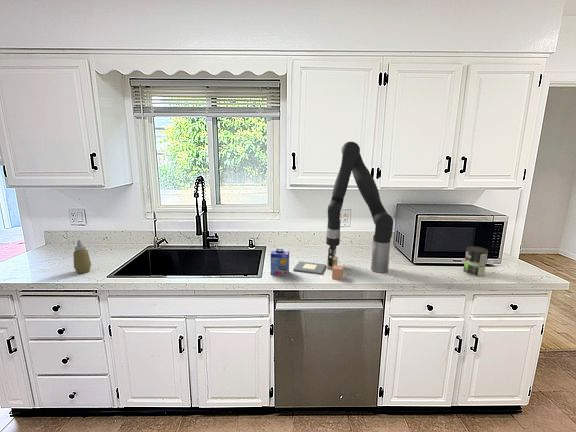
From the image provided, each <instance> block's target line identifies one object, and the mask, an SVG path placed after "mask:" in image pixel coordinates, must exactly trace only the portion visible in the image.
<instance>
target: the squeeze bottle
mask: <svg viewBox="0 0 576 432" xmlns="http://www.w3.org/2000/svg"><path fill="white" fill-rule="evenodd" d="M91 268H92V263H91V258H90V253H89V250H88V249H86V246H85V245H83V244H82V240H80V239H78V240H77V244H76V246H75V247H74V251H73V269H74V270H75V272H76V273H77V274H79V275H80V274H86V273H88V272H90V271H91Z"/></svg>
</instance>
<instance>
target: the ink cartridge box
mask: <svg viewBox="0 0 576 432" xmlns="http://www.w3.org/2000/svg"><path fill="white" fill-rule="evenodd" d="M289 273H290V251H287V250H284V249H283V248H282V249H281V248H276V250H271V251H270V275H273V276H289Z"/></svg>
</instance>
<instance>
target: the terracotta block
mask: <svg viewBox="0 0 576 432" xmlns="http://www.w3.org/2000/svg"><path fill="white" fill-rule="evenodd" d="M331 271H332V273H331V279H332V280H336V281H337V280H338V281H342V280H343V277H344V266H343V265H338V264H337V265H334V266H333V268H332V269H331Z"/></svg>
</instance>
